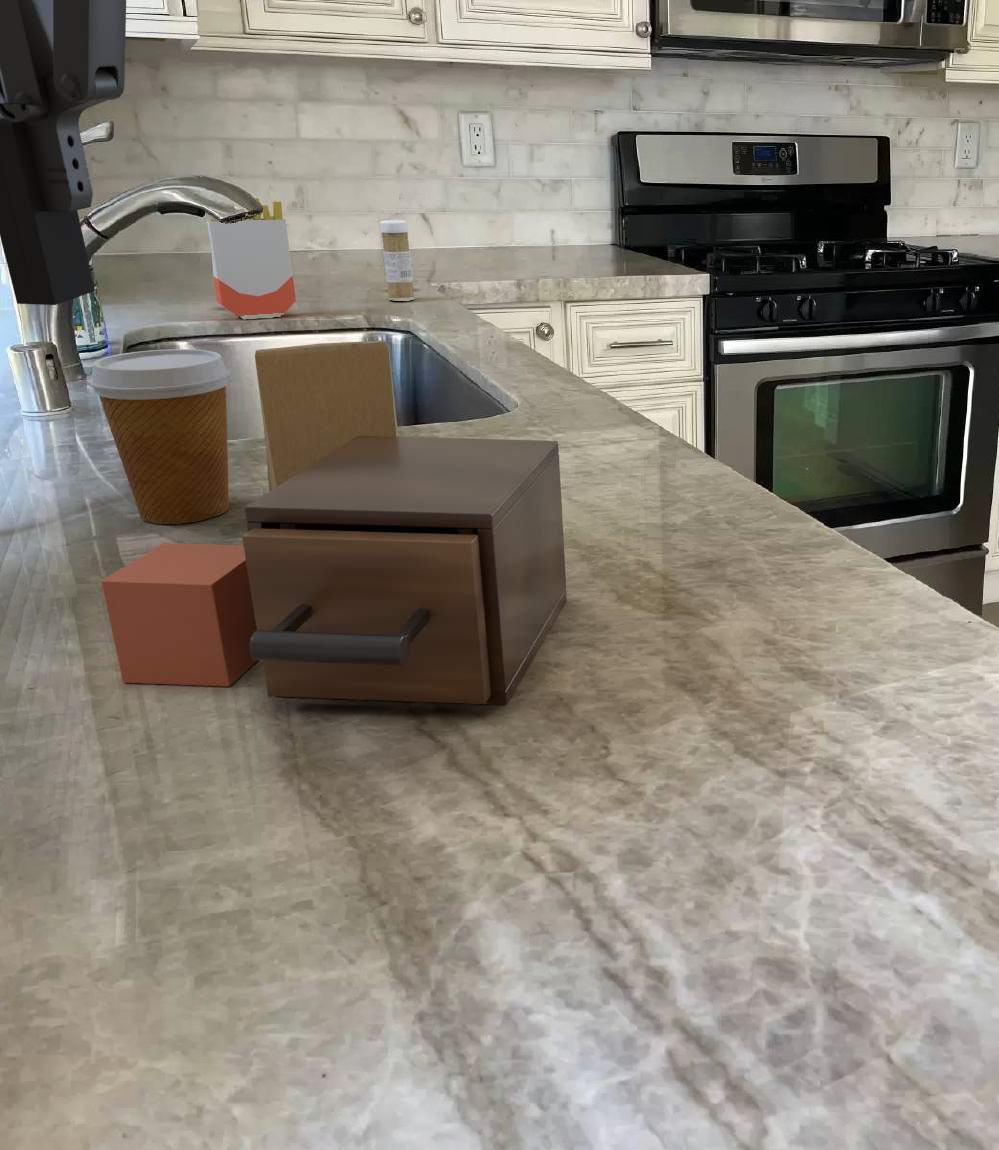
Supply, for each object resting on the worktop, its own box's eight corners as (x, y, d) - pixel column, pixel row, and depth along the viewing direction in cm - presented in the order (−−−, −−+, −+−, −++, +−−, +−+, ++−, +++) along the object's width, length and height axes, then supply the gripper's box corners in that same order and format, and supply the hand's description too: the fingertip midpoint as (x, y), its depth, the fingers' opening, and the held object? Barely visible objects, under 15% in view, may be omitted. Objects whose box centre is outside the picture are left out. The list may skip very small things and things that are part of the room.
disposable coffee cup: (239, 488, 96) (216, 344, 92) (261, 518, 88) (237, 363, 84) (111, 505, 91) (80, 354, 87) (123, 539, 84) (90, 376, 79)
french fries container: (219, 317, 180) (200, 197, 174) (291, 312, 186) (276, 196, 179) (224, 321, 177) (205, 199, 170) (298, 316, 182) (282, 197, 176)
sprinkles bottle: (409, 298, 203) (401, 219, 198) (419, 301, 200) (411, 221, 195) (384, 300, 201) (375, 220, 196) (393, 303, 197) (385, 221, 192)
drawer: (455, 753, 54) (438, 579, 51) (220, 743, 55) (188, 571, 51) (547, 603, 71) (538, 466, 68) (367, 597, 72) (350, 461, 68)
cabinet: (506, 705, 60) (491, 514, 57) (273, 696, 61) (243, 507, 57) (567, 600, 74) (558, 440, 70) (376, 593, 75) (356, 435, 71)
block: (122, 683, 62) (100, 580, 60) (181, 637, 68) (162, 542, 66) (229, 687, 62) (211, 584, 60) (279, 641, 68) (264, 545, 65)
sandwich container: (378, 491, 95) (357, 308, 90) (412, 548, 83) (390, 339, 77) (267, 504, 92) (238, 315, 86) (285, 566, 79) (252, 348, 74)
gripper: (-459, -541, 32) (-180, 312, 42) (4, -532, 31) (172, 324, 42) (-235, -440, 38) (-42, 273, 49) (147, -431, 38) (262, 283, 48)
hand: (57, 296), depth 45 cm, fingers closed
